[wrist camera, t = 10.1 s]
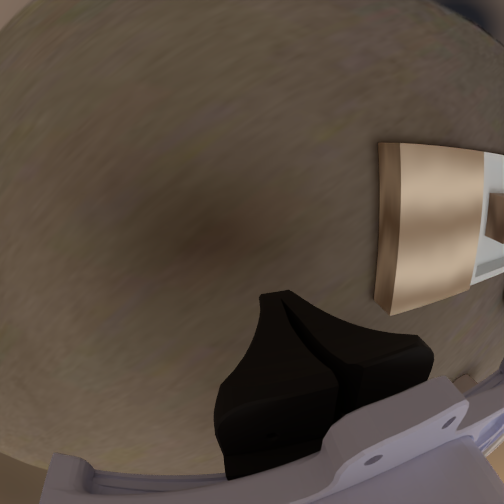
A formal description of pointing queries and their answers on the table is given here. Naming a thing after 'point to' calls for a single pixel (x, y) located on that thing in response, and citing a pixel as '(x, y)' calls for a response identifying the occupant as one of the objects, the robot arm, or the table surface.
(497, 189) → the box
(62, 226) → the table surface
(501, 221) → the brown block
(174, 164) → the table surface
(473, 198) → the tan wooden flat block
